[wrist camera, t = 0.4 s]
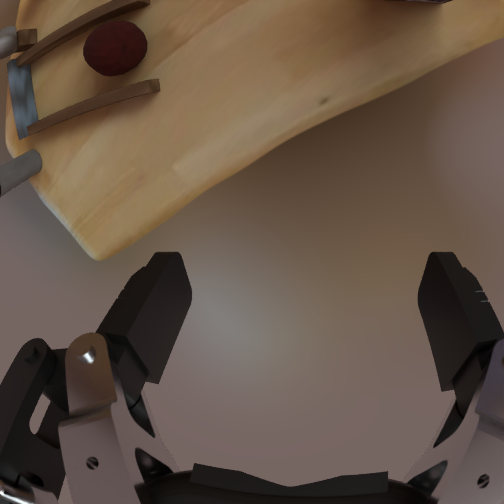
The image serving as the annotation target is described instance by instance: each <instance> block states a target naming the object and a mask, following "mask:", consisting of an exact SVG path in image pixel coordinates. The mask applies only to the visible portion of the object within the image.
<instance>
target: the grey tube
mask: <svg viewBox="0 0 504 504" xmlns="http://www.w3.org/2000/svg"><path fill="white" fill-rule="evenodd" d="M41 167H42V160H41V157H40V155H39V153H38V152H37V151H36V150H30V151H28V152H26V153H24V154H22V155H20V156H18V157H17V158H15V159H13V160H11V161H9V162H8V163H6V164H4V165H2V166H1V167H0V197H1V196H3V195H4V194H6V193H7V192H8V191H10V190H11V189H13V188H15V187H16V186H18V185H19V184H20V183H22V182H24V181H25V180H27V179H28V178H30V177H32V176H33V175H35V174H37V173H38V172H39V171H40V170H41Z"/></svg>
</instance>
